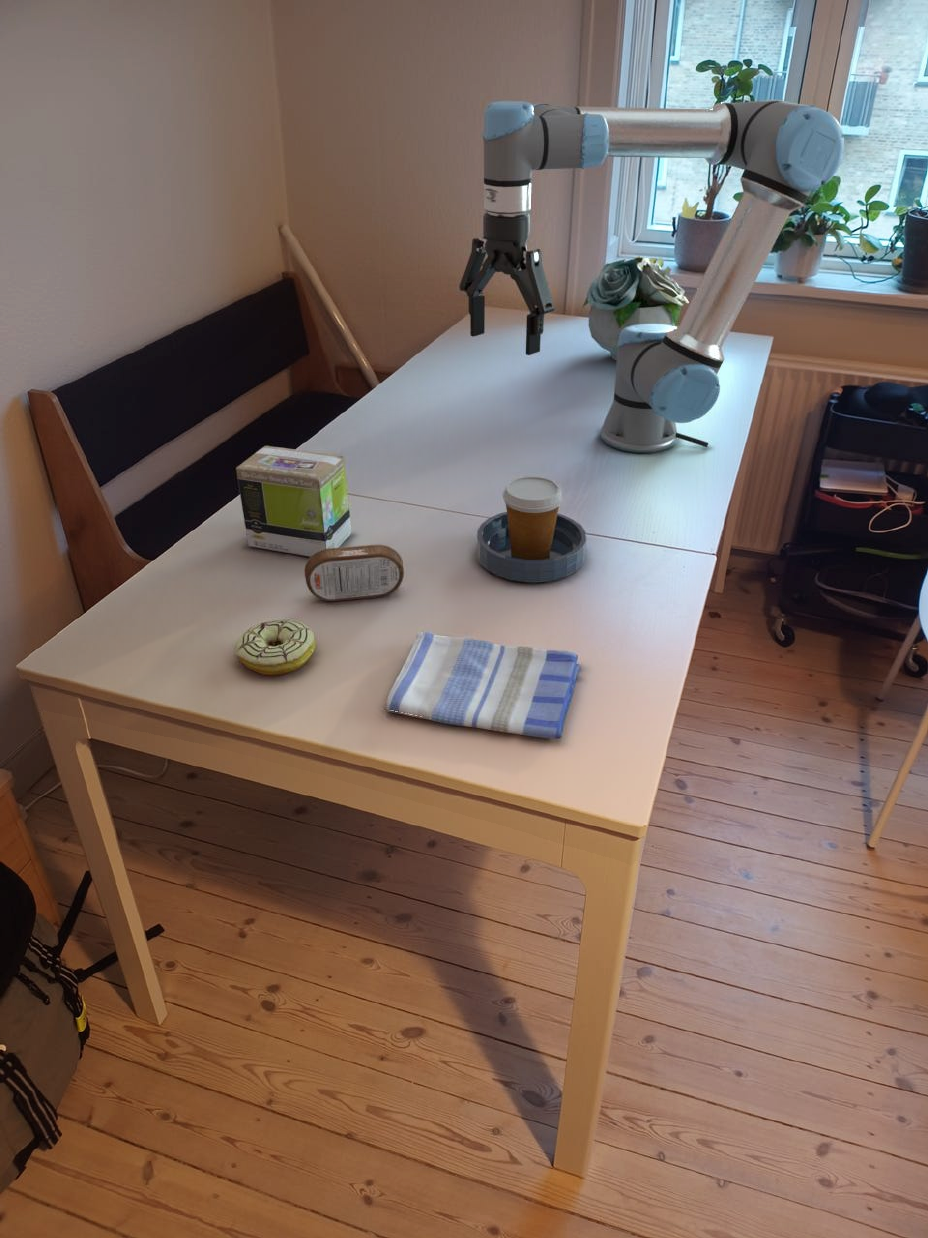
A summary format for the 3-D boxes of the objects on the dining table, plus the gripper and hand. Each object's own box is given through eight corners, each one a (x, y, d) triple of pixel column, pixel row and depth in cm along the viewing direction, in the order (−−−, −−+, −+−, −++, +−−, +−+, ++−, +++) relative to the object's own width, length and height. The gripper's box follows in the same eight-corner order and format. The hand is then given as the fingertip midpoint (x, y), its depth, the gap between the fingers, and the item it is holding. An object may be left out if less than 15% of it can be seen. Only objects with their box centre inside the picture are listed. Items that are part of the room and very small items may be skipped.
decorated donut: (261, 630, 138) (258, 608, 136) (328, 643, 135) (325, 621, 133) (224, 671, 130) (220, 648, 127) (294, 686, 127) (291, 663, 125)
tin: (403, 586, 147) (401, 539, 143) (406, 597, 145) (404, 549, 140) (307, 595, 145) (301, 548, 140) (307, 607, 143) (302, 559, 138)
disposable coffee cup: (555, 571, 150) (559, 504, 143) (496, 565, 151) (498, 498, 145) (562, 542, 157) (566, 477, 151) (506, 537, 159) (508, 472, 152)
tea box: (353, 533, 161) (346, 454, 153) (327, 562, 154) (318, 479, 145) (275, 520, 165) (264, 442, 157) (246, 547, 158) (233, 466, 149)
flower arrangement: (687, 375, 225) (701, 269, 211) (583, 375, 225) (590, 269, 212) (670, 342, 245) (681, 243, 232) (574, 342, 246) (580, 244, 232)
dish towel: (419, 640, 135) (419, 624, 134) (582, 665, 130) (583, 649, 129) (379, 716, 121) (378, 699, 120) (560, 747, 116) (561, 729, 115)
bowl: (581, 531, 162) (582, 510, 159) (587, 586, 147) (589, 563, 145) (478, 530, 162) (478, 508, 160) (475, 584, 148) (475, 561, 145)
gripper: (437, 203, 156) (440, 331, 168) (547, 227, 140) (541, 366, 152) (470, 197, 160) (471, 322, 172) (581, 220, 145) (572, 355, 157)
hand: (504, 343), depth 162 cm, fingers open, 13 cm apart
